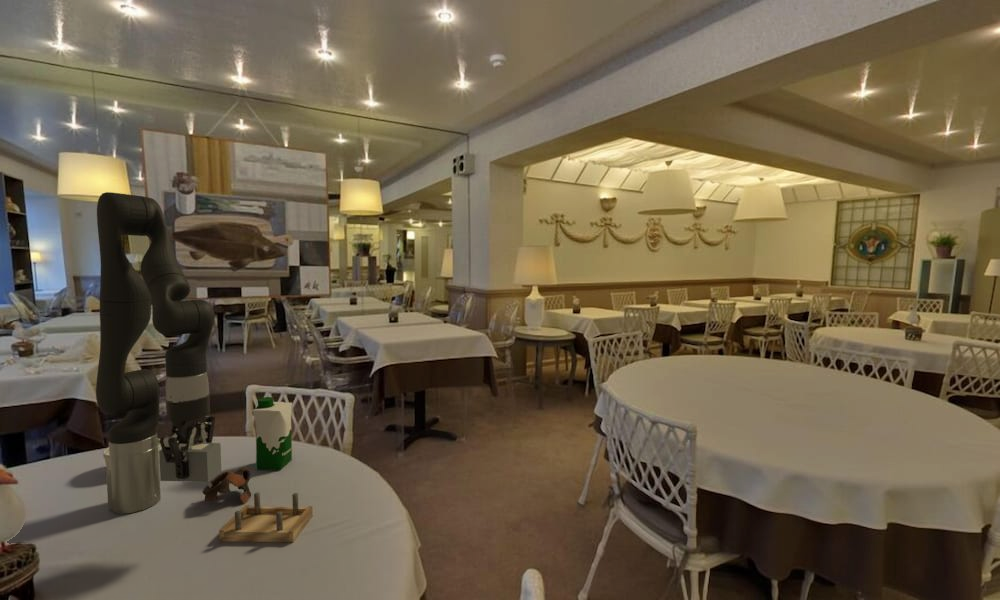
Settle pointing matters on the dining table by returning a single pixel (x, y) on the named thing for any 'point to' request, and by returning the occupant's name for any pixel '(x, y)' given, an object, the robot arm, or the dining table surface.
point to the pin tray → (266, 523)
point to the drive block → (195, 463)
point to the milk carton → (273, 434)
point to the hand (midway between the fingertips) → (191, 472)
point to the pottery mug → (224, 485)
